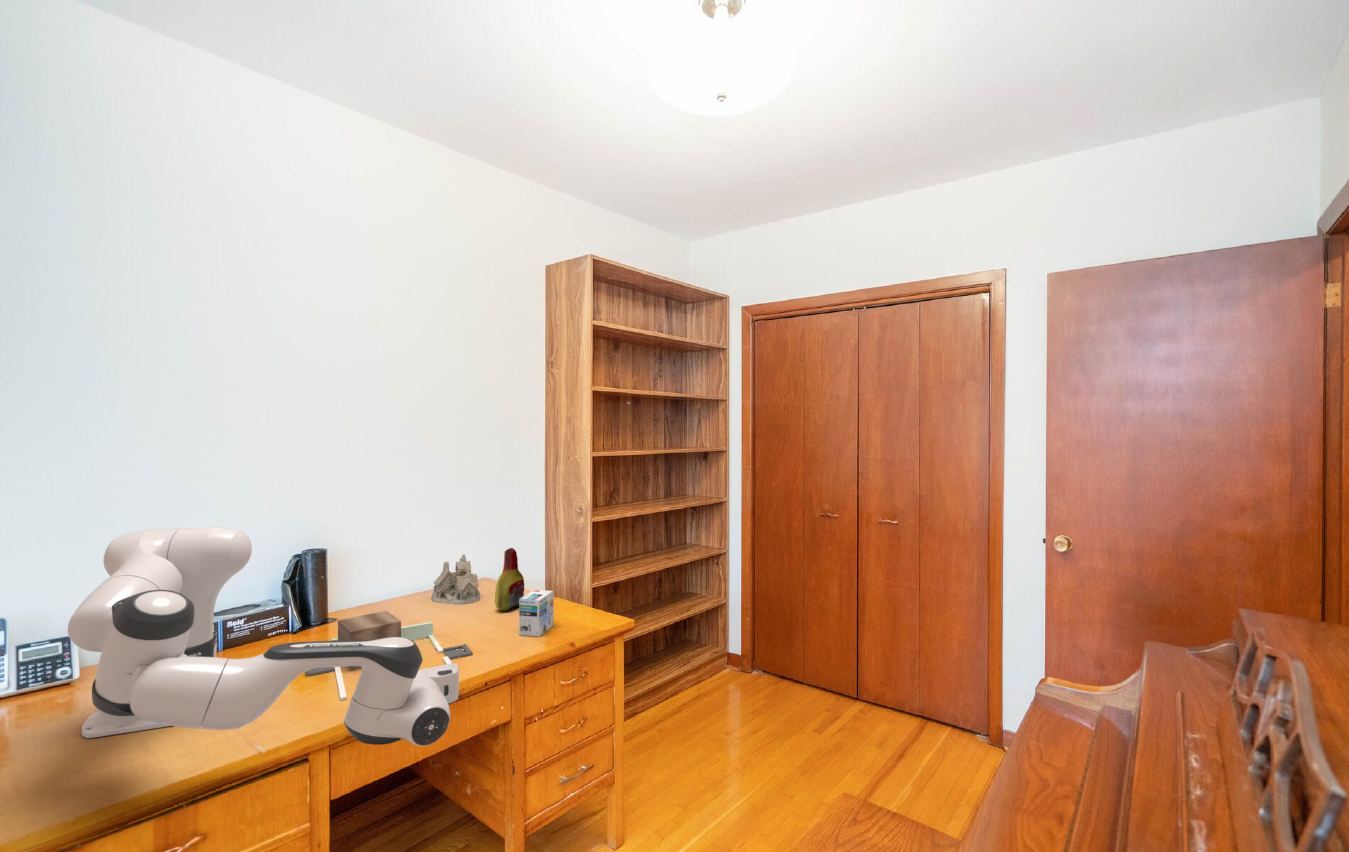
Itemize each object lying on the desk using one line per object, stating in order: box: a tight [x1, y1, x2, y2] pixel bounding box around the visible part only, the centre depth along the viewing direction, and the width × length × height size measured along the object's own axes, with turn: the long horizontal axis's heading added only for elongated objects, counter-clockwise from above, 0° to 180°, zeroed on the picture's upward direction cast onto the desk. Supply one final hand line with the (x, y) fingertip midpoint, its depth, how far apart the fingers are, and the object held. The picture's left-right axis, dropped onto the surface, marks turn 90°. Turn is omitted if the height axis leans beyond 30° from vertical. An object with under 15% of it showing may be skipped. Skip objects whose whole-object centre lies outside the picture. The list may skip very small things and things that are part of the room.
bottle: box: [494, 547, 525, 612], centre depth 199 cm, size 12×6×20 cm, turn 150°
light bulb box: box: [518, 589, 555, 638], centre depth 178 cm, size 11×7×11 cm, turn 168°
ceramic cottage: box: [430, 554, 481, 606], centre depth 210 cm, size 16×16×15 cm
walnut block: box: [337, 610, 402, 672], centre depth 157 cm, size 12×12×10 cm
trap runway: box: [304, 621, 474, 701], centre depth 153 cm, size 38×32×4 cm
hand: (405, 671), depth 137 cm, fingers closed
